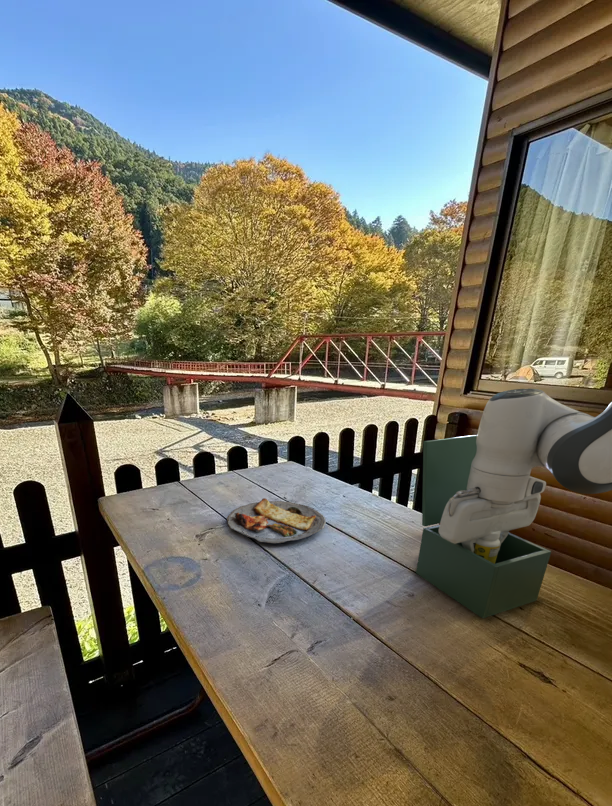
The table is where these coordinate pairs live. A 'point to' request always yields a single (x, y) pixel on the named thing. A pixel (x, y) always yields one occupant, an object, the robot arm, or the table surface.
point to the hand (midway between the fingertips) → (480, 553)
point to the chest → (483, 572)
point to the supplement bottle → (488, 546)
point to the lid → (445, 473)
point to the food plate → (276, 519)
